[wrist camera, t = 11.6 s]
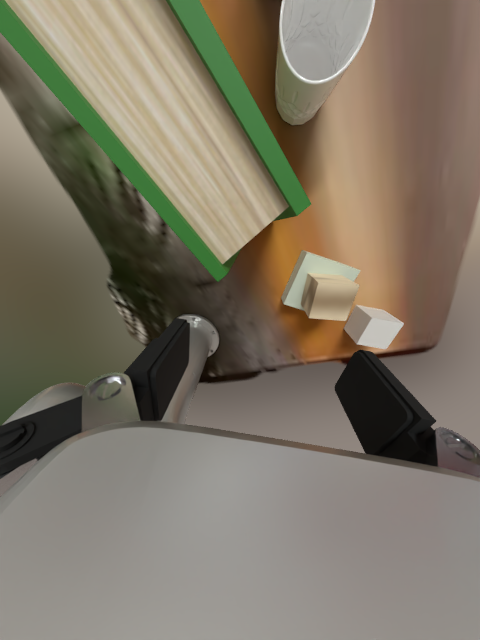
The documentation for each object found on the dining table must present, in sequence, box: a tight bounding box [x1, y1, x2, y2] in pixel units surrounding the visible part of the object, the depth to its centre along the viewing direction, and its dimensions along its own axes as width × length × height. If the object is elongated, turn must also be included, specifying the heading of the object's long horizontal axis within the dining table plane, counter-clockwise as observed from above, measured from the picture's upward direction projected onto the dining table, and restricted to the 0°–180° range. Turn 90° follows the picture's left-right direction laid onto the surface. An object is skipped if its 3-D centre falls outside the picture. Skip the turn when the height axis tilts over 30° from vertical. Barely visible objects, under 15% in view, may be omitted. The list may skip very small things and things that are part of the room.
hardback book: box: [0, 0, 311, 282], centre depth 19 cm, size 18×7×24 cm, turn 39°
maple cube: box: [301, 273, 360, 321], centre depth 30 cm, size 6×6×6 cm
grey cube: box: [344, 305, 404, 349], centre depth 37 cm, size 6×6×6 cm
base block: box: [281, 250, 360, 310], centre depth 35 cm, size 10×10×4 cm
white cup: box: [275, 0, 375, 125], centre depth 20 cm, size 8×8×10 cm
